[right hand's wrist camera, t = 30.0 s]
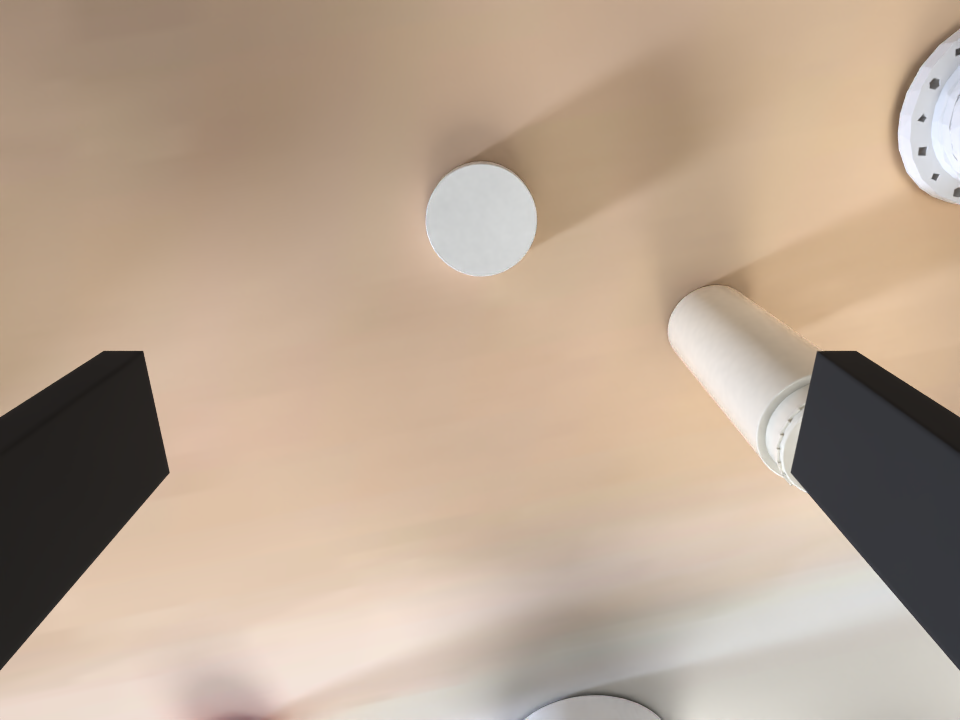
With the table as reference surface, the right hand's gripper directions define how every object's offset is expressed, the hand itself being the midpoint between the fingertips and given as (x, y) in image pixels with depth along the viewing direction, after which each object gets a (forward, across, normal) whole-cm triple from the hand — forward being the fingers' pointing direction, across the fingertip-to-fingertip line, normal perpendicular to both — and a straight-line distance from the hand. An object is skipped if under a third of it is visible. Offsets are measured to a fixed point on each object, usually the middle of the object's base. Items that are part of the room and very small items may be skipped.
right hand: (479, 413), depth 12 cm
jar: (+26, +15, -7) cm, 31 cm away
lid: (+25, 0, 0) cm, 25 cm away
